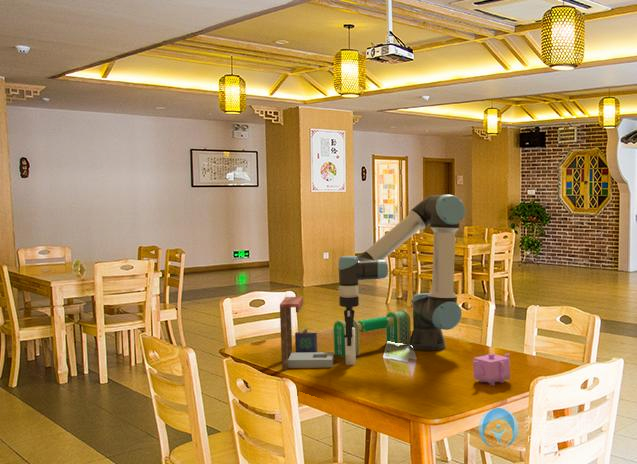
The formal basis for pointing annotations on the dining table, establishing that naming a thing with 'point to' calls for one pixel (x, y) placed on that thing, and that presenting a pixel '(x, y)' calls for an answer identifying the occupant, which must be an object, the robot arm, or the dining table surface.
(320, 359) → the socket block
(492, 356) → the pink square teapot
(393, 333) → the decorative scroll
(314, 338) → the flask
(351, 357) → the peg
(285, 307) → the curved red bench
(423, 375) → the dining table surface
